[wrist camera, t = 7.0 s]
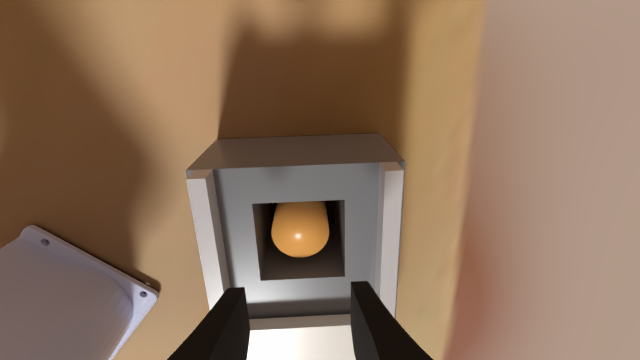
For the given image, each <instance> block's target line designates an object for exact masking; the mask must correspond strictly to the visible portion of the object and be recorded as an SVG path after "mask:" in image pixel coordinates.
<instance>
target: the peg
mask: <svg viewBox="0 0 640 360" xmlns="http://www.w3.org/2000/svg"><path fill="white" fill-rule="evenodd" d="M271 234H272V239H273V241H274V243H275V245H276V246H277V248H278V249H279V250H280V251H282V252H283V253H285V254H287V255H289V256H292V257H308V256H311V255H314V254H316V253H317V252H319V251H320V250H321V249H322V248H323V247H324V246H325V244H326V243H327V240H328V237H329V226H328V218H327V210H326V203H325V201H305V202H282V203H277V204H276V209H275V214H274V219H273V225H272V231H271Z"/></svg>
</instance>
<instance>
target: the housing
mask: <svg viewBox="0 0 640 360" xmlns="http://www.w3.org/2000/svg"><path fill="white" fill-rule="evenodd" d="M186 174H187V179H186V182H187V188H188V193H189V199H190V204H191V210H192V215H193V221H194V226H195V232H196V237H197V243H198V248H199V254H200V259H201V264H202V270H203V275H204V281H205V286H206V292H207V297H208V303H209V308H210V310H211V309H212V308H213V306H214V305H215V304H216V302H217V301H218V300H219V298H220V297H221V296H222V294H223V293H224V292H225V291H226V290H227V289H228V288H236V287H245V293H246V301H247V308H248V316H249V319H265V318H284V317H303V316H322V315H341V314H351V282H355V281H368V282H369V283H370V284H371V286H372V288H373V289H374V291H375V292H376V294H377V295H378V297H379V298H380V300H381V301H382V302H383V304H384V305H385V307H386V308H387V309H388V311H389V312H390V313H391V314H392V316H393V317H394V318H395V316H396V300H397V284H398V269H399V253H400V237H401V221H402V206H403V190H404V174H405V160H404V159H403V158H402V157H401V156H400V155H399V154H398V153H397V152H396V151H395V150H394V148H393V147H392V146H391V145H390V144H389V143H388V142H387V141H386V140H385V139H384V137H383V136H382V135H381V134H380V133H366V134H340V135H314V136H288V137H262V138H235V139H217V140H216V141H215V142H214V143H213V144H212V145H211V146H210V147H209V148H208V149H207V150H206V151H205V152H204V153H203V154H202V155H201V156H200V157H199V158H198V159H197V160H196V161H195V162H194V163H193V164H192V165H191V166H190V167H189V168H188V169H187V170H186ZM328 200H335V211H336V224H328V226H329V237H328V240H327V243H326V244H325V246H324V247H323V248H322V249H321V250H320V251H319V252H317V253H316V254H314V255H311V256H308V257H292V256H289V255H287V254H285V253H283V252H282V251H280V250H279V249H278V248H277V246H276V245H275V243H274V241H273V239H272V234H271V231H272V227H271V220H270V209H269V203H282V202H305V201H328Z"/></svg>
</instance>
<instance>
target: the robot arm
mask: <svg viewBox="0 0 640 360" xmlns="http://www.w3.org/2000/svg"><path fill="white" fill-rule="evenodd" d="M45 239H46V240H48V241H49V242H47V241H46V240H45ZM142 291H144V292H146V293H147V294H145V293H143V292H142ZM158 297H159V293H158V292H157V291H156V290H154V289H153V288H151V287H149V286H147V285H145V284H143V283H141V282H140V281H138V280H136V279H134V278H132V277H130V276H128V275H127V274H125V273H123V272H121V271H119V270H117V269H115V268H114V267H112V266H110V265H108V264H106V263H104V262H102V261H101V260H99V259H97V258H95V257H93V256H91V255H89V254H88V253H86V252H84V251H82V250H80V249H78V248H76V247H75V246H73V245H71V244H69V243H67V242H65V241H63V240H62V239H60V238H58V237H56V236H54V235H52V234H50V233H48V232H47V231H45V230H43V229H41V228H39V227H37V226H35V225H29V226H27V227H25V228H24V229H23V230H22V232H21V234H20V236H19V237H18V238H16V239H15V240H13V241H12V242H10V243H8V244H7V245H5V246H4V247H2V248H1V249H0V360H112V359H113V357H114V356H115V355H116V353H117V352H118V351H119V349H120V348H121V347H122V345H123V344H124V343H125V342H126V340H127V339H128V338H129V336H130V335H131V334H132V332H133V331H134V330H135V328H136V327H137V326H138V325H139V323H140V322H141V321H142V319H143V318H144V317H145V315H146V314H147V313H148V311H149V310H150V309H151V307H152V306H153V305H154V304H155V302H156V301H157V299H158ZM351 332H352V340H353V348H354V354H355V358H356V360H433V359H432V358H431V357H430V356H429V355H428V354H427V353H426V352H425V351H424V350H423V349H422V348H421V347H420V346H419V345H418V344H417V343H416V342H415V341H414V340H413V339H412V338H411V337H410V336H409V335H408V333H407V332H406V331H405V330H404V329H403V328H402V327H401V325H400V324H399V323H398V322H397V321H396V319H395V318H394V317H393V316H392V314H391V313H390V312H389V311H388V309H387V308H386V307H385V305H384V304H383V302H382V301H381V300H380V298H379V297H378V295H377V294H376V292H375V291H374V289H373V288H372V286H371V284H370V283H369V282H368V281H355V282H351ZM249 338H250V323H249V316H248V308H247V301H246V293H245V287H236V288H228V289H227V290H226V291H225V292H224V293H223V294H222V296H221V297H220V298H219V300H218V301H217V302H216V304H215V305H214V306H213V308H212V309H211V310H210V311H209V313H208V314H207V315H206V316H205V318H204V319H203V320H202V321H201V322H200V324H199V325H198V326H197V327H196V329H195V330H194V331H193V332H192V333H191V334H190V335H189V337H188V338H187V339H186V340H185V341H184V342H183V343H182V344H181V345H180V346H179V348H178V349H177V350H176V351H175V352H174V353H173V354H172V355H171V356H170V357H169V358H168V359H167V360H247V354H248V346H249Z"/></svg>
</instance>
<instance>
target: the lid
mask: <svg viewBox="0 0 640 360" xmlns="http://www.w3.org/2000/svg"><path fill="white" fill-rule="evenodd" d="M249 323H250V338H249V346H248V354H247V360H356V358H355V354H354V348H353V340H352V332H351V314H341V315H322V316H303V317H284V318H265V319H249Z"/></svg>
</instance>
